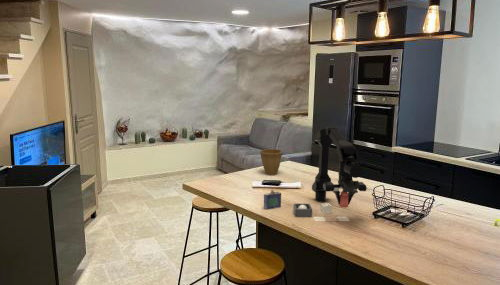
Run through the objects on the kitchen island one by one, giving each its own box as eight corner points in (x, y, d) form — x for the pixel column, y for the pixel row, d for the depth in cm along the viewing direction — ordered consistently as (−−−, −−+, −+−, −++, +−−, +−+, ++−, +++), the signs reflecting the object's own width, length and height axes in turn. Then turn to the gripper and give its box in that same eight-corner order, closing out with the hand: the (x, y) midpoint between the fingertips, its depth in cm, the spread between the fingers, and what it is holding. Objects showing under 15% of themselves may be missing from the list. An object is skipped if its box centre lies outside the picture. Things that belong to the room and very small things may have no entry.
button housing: (293, 211, 184) (293, 203, 183) (309, 211, 184) (309, 203, 183) (295, 217, 176) (295, 209, 175) (312, 217, 176) (312, 209, 175)
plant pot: (271, 169, 266) (271, 148, 263) (286, 174, 254) (286, 151, 251) (255, 173, 256) (255, 150, 253) (270, 178, 245) (270, 154, 242)
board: (290, 213, 184) (291, 210, 184) (343, 213, 185) (343, 210, 184) (294, 224, 170) (294, 221, 170) (351, 224, 171) (351, 221, 171)
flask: (264, 212, 186) (264, 191, 184) (262, 210, 188) (262, 189, 187) (281, 210, 189) (282, 189, 187) (279, 208, 191) (279, 188, 189)
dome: (295, 211, 182) (296, 203, 181) (307, 211, 182) (307, 203, 182) (297, 216, 177) (297, 207, 176) (309, 215, 177) (309, 207, 176)
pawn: (338, 204, 174) (339, 189, 173) (347, 204, 174) (347, 189, 173) (340, 207, 170) (340, 192, 169) (348, 207, 170) (349, 192, 169)
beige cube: (320, 211, 184) (321, 203, 183) (328, 210, 184) (328, 202, 184) (323, 214, 180) (324, 206, 179) (331, 213, 180) (331, 205, 180)
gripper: (328, 176, 161) (327, 210, 164) (371, 176, 161) (369, 210, 164) (323, 170, 172) (322, 202, 175) (363, 169, 172) (361, 201, 175)
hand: (343, 204), depth 172 cm, fingers closed on pawn, 4 cm apart
